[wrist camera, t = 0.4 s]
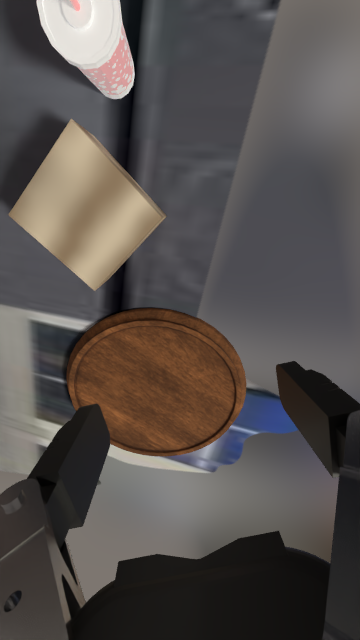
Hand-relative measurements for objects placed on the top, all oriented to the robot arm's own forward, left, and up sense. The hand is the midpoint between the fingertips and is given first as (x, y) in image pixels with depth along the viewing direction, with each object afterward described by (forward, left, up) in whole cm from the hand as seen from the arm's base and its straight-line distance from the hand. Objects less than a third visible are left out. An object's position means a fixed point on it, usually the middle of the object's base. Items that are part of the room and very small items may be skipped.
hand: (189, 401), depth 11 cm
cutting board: (+12, -19, -27) cm, 35 cm away
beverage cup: (-21, +9, -26) cm, 35 cm away
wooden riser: (-13, -3, -26) cm, 29 cm away
